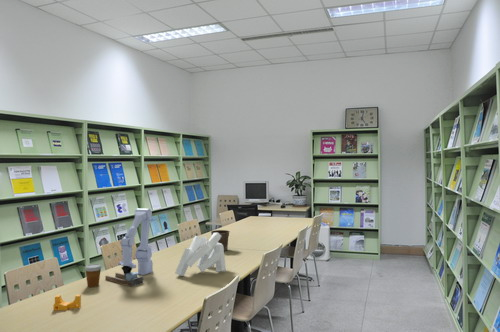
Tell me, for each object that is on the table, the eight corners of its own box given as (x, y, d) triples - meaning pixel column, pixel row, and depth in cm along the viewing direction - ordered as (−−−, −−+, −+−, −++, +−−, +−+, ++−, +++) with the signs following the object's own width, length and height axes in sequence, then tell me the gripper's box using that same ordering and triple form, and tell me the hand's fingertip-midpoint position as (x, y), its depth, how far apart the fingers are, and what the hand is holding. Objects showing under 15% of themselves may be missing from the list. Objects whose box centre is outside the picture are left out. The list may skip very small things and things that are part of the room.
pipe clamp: (53, 310, 194) (53, 298, 194) (56, 307, 199) (56, 295, 199) (78, 309, 196) (78, 297, 196) (80, 306, 200) (80, 294, 200)
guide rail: (116, 276, 253) (116, 270, 253) (143, 282, 239) (143, 276, 239) (105, 279, 246) (105, 273, 246) (131, 286, 232) (131, 280, 232)
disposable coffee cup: (83, 288, 228) (83, 268, 228) (85, 283, 237) (85, 264, 237) (100, 287, 230) (100, 267, 230) (102, 282, 240) (102, 263, 240)
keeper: (132, 281, 242) (132, 272, 242) (137, 282, 239) (137, 273, 239) (125, 283, 238) (125, 273, 238) (131, 284, 235) (131, 275, 235)
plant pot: (208, 249, 334) (208, 230, 334) (225, 247, 341) (225, 229, 341) (214, 253, 319) (214, 233, 319) (232, 251, 326) (232, 232, 326)
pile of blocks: (197, 291, 239) (223, 241, 241) (164, 267, 253) (189, 220, 255) (222, 290, 270) (245, 246, 272) (191, 268, 284) (214, 226, 286)
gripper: (114, 256, 241) (114, 277, 241) (129, 259, 233) (129, 281, 233) (123, 253, 247) (123, 274, 247) (138, 256, 239) (138, 278, 239)
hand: (127, 277), depth 241 cm, fingers closed
